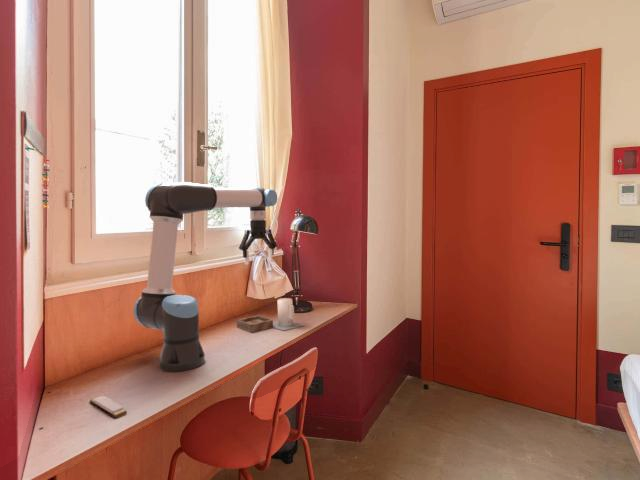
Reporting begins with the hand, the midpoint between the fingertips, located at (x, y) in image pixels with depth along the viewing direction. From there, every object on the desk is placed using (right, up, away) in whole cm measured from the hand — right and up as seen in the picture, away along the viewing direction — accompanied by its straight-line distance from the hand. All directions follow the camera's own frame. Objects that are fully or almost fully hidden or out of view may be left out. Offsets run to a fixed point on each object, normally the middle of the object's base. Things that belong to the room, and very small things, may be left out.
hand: (258, 263), depth 186 cm
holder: (0, -29, -10) cm, 31 cm away
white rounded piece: (+15, -29, -9) cm, 33 cm away
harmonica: (-28, -35, -83) cm, 94 cm away
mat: (+14, -29, -8) cm, 33 cm away
